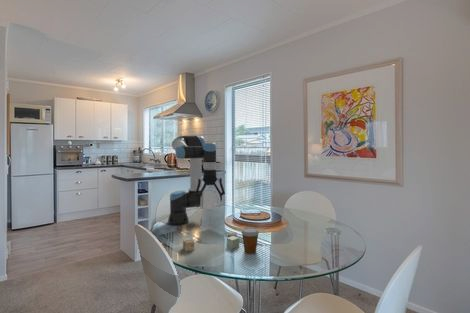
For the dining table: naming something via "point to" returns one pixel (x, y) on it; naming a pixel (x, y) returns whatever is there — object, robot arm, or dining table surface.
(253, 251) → the disposable coffee cup
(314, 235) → the dining table surface
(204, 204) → the mug
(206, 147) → the robot arm
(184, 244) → the oak cube
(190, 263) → the dining table surface
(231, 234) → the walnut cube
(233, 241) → the sage painted cube
